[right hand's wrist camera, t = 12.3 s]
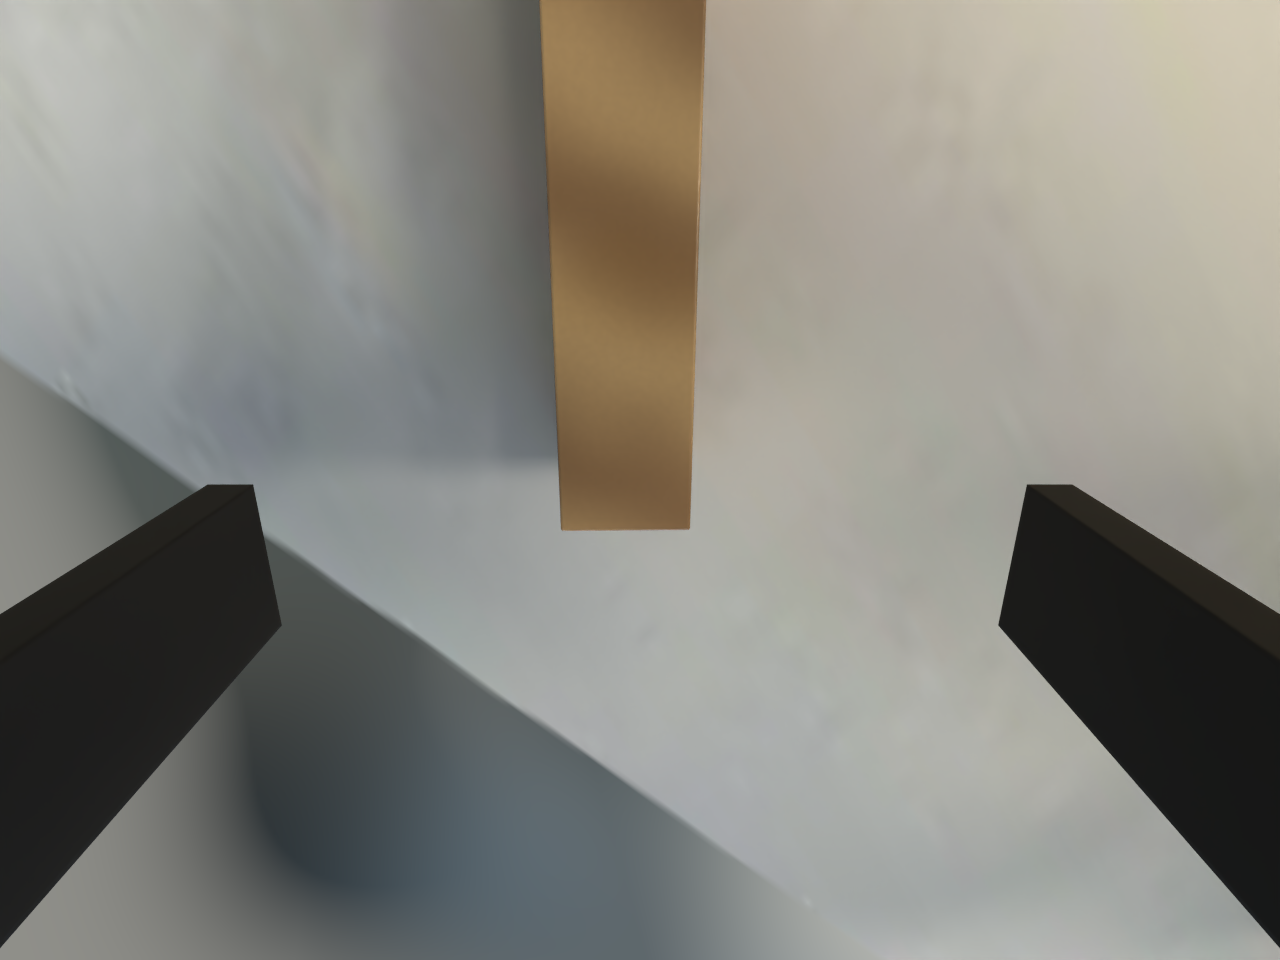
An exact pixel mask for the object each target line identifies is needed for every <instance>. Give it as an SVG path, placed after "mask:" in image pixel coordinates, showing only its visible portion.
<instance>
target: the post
mask: <svg viewBox="0 0 1280 960" xmlns="http://www.w3.org/2000/svg"><path fill="white" fill-rule="evenodd" d="M539 6H540V30H541V54H542V79H543V103H544V127H545V151H546V176H547V200H548V224H549V249H550V273H551V297H552V321H553V346H554V370H555V394H556V419H557V443H558V467H559V491H560V516H561V529H562V531H607V530H689V528H690V509H691V477H692V444H693V411H694V379H695V346H696V313H697V281H698V248H699V215H700V183H701V150H702V118H703V85H704V52H705V20H706V0H539Z"/></svg>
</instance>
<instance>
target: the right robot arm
mask: <svg viewBox="0 0 1280 960" xmlns="http://www.w3.org/2000/svg"><path fill="white" fill-rule="evenodd" d="M280 627H281V620H280V615H279V610H278V605H277V600H276V595H275V590H274V585H273V581H272V575H271V571H270V566H269V561H268V556H267V551H266V546H265V541H264V536H263V531H262V526H261V522H260V517H259V512H258V507H257V502H256V497H255V492H254V487H253V485H206V486H205V487H203V488H202V489H200V490H198V491H197V492H195V493H194V494H192V495H190V496H189V497H187V498H186V499H184V500H182V501H181V502H179V503H178V504H176V505H174V506H173V507H171V508H170V509H168V510H166V511H165V512H163V513H162V514H160V515H158V516H157V517H155V518H154V519H152V520H150V521H149V522H147V523H146V524H144V525H142V526H141V527H139V528H138V529H136V530H134V531H133V532H131V533H130V534H128V535H126V536H125V537H123V538H122V539H120V540H118V541H117V542H115V543H114V544H112V545H110V546H109V547H107V548H106V549H104V550H102V551H101V552H99V553H98V554H96V555H94V556H93V557H91V558H90V559H88V560H86V561H85V562H83V563H82V564H80V565H78V566H77V567H75V568H74V569H72V570H70V571H69V572H67V573H66V574H64V575H62V576H61V577H59V578H58V579H56V580H54V581H53V582H51V583H50V584H48V585H46V586H45V587H43V588H42V589H40V590H38V591H37V592H35V593H34V594H32V595H30V596H29V597H27V598H26V599H24V600H22V601H21V602H19V603H18V604H16V605H14V606H13V607H11V608H10V609H8V610H6V611H5V612H3V613H1V614H0V948H1V946H2V945H3V944H4V943H5V942H6V941H7V940H8V938H9V937H10V936H11V935H12V934H13V933H14V931H15V930H16V929H17V928H18V927H19V926H20V925H21V923H22V922H23V921H24V920H25V919H26V918H27V917H28V915H29V914H30V913H31V912H32V911H33V910H34V909H35V907H36V906H37V905H38V904H39V903H40V902H41V901H42V899H43V898H44V897H45V896H46V895H47V894H48V893H49V891H50V890H51V889H52V888H53V887H54V886H55V884H56V883H57V882H58V881H59V880H60V879H61V878H62V876H63V875H64V874H65V873H66V872H67V871H68V870H69V868H70V867H71V866H72V865H73V864H74V863H75V862H76V860H77V859H78V858H79V857H80V856H81V855H82V854H83V852H84V851H85V850H86V849H87V848H88V847H89V846H90V844H91V843H92V842H93V841H94V840H95V839H96V837H97V836H98V835H99V834H100V833H101V832H102V831H103V829H104V828H105V827H106V826H107V825H108V824H109V823H110V821H111V820H112V819H113V818H114V817H115V816H116V815H117V813H118V812H119V811H120V810H121V809H122V808H123V806H124V805H125V804H126V803H127V802H128V801H129V800H130V799H131V797H132V796H133V795H134V794H135V793H136V792H137V790H138V789H139V788H140V787H141V786H142V785H143V784H144V782H145V781H146V780H147V779H148V778H149V777H150V776H151V774H152V773H153V772H154V771H155V770H156V769H157V768H158V766H159V765H160V764H161V763H162V762H163V761H164V760H165V758H166V757H167V756H168V755H169V754H170V753H171V752H172V750H173V749H174V748H175V747H176V746H177V745H178V744H179V742H180V741H181V740H182V739H183V738H184V737H185V735H186V734H187V733H188V732H189V731H190V730H191V729H192V727H193V726H194V725H195V724H196V723H197V722H198V721H199V719H200V718H201V717H202V716H203V715H204V714H205V713H206V711H207V710H208V709H209V708H210V707H211V706H212V705H213V703H214V702H215V701H216V700H217V699H218V698H219V697H220V695H221V694H222V693H223V692H224V691H225V690H226V689H227V687H228V686H229V685H230V684H231V683H232V682H233V681H234V679H235V678H236V677H237V676H238V675H239V674H240V672H241V671H242V670H243V669H244V668H245V667H246V666H247V664H248V663H249V662H250V661H251V660H252V659H253V658H254V656H255V655H256V654H257V653H258V652H259V651H260V649H261V648H262V647H263V646H264V645H265V644H266V643H267V642H268V640H269V639H270V638H271V637H272V636H273V635H274V633H275V632H276V631H277V630H278V629H279V628H280ZM999 627H1000V628H1001V629H1002V630H1003V631H1004V632H1005V634H1006V635H1007V636H1008V637H1009V638H1010V639H1011V640H1012V642H1013V643H1014V644H1015V645H1016V646H1017V647H1018V648H1019V650H1020V651H1021V652H1022V653H1023V654H1024V655H1025V656H1026V658H1027V659H1028V660H1029V661H1030V662H1031V663H1032V664H1033V666H1034V667H1035V668H1036V669H1037V670H1038V671H1039V672H1040V674H1041V675H1042V676H1043V677H1044V678H1045V679H1046V681H1047V682H1048V683H1049V684H1050V685H1051V686H1052V687H1053V689H1054V690H1055V691H1056V692H1057V693H1058V694H1059V695H1060V697H1061V698H1062V699H1063V700H1064V701H1065V702H1066V703H1067V705H1068V706H1069V707H1070V708H1071V709H1072V710H1073V711H1074V713H1075V714H1076V715H1077V716H1078V717H1079V718H1080V719H1081V721H1082V722H1083V723H1084V724H1085V725H1086V726H1087V727H1088V729H1089V730H1090V731H1091V732H1092V733H1093V734H1094V736H1095V737H1096V738H1097V739H1098V740H1099V741H1100V742H1101V744H1102V745H1103V746H1104V747H1105V748H1106V749H1107V750H1108V752H1109V753H1110V754H1111V755H1112V756H1113V757H1114V758H1115V760H1116V761H1117V762H1118V763H1119V764H1120V765H1121V766H1122V768H1123V769H1124V770H1125V771H1126V772H1127V773H1128V774H1129V776H1130V777H1131V778H1132V779H1133V780H1134V781H1135V783H1136V784H1137V785H1138V786H1139V787H1140V788H1141V789H1142V791H1143V792H1144V793H1145V794H1146V795H1147V796H1148V797H1149V799H1150V800H1151V801H1152V802H1153V803H1154V804H1155V805H1156V807H1157V808H1158V809H1159V810H1160V811H1161V812H1162V813H1163V815H1164V816H1165V817H1166V818H1167V819H1168V820H1169V821H1170V823H1171V824H1172V825H1173V826H1174V827H1175V828H1176V829H1177V831H1178V832H1179V833H1180V834H1181V835H1182V836H1183V838H1184V839H1185V840H1186V841H1187V842H1188V843H1189V844H1190V846H1191V847H1192V848H1193V849H1194V850H1195V851H1196V852H1197V854H1198V855H1199V856H1200V857H1201V858H1202V859H1203V860H1204V862H1205V863H1206V864H1207V865H1208V866H1209V867H1210V868H1211V870H1212V871H1213V872H1214V873H1215V874H1216V875H1217V876H1218V878H1219V879H1220V880H1221V881H1222V882H1223V883H1224V885H1225V886H1226V887H1227V888H1228V889H1229V890H1230V891H1231V893H1232V894H1233V895H1234V896H1235V897H1236V898H1237V899H1238V901H1239V902H1240V903H1241V904H1242V905H1243V906H1244V907H1245V909H1246V910H1247V911H1248V912H1249V913H1250V914H1251V915H1252V917H1253V918H1254V919H1255V920H1256V921H1257V922H1258V923H1259V925H1260V926H1261V927H1262V928H1263V929H1264V930H1265V931H1266V933H1267V934H1268V935H1269V936H1270V937H1271V938H1272V940H1273V941H1274V942H1275V943H1276V944H1277V945H1278V946H1279V948H1280V614H1279V613H1277V612H1275V611H1274V610H1272V609H1270V608H1269V607H1267V606H1266V605H1264V604H1262V603H1261V602H1259V601H1258V600H1256V599H1254V598H1253V597H1251V596H1250V595H1248V594H1246V593H1245V592H1243V591H1242V590H1240V589H1238V588H1237V587H1235V586H1234V585H1232V584H1230V583H1229V582H1227V581H1226V580H1224V579H1222V578H1221V577H1219V576H1218V575H1216V574H1214V573H1213V572H1211V571H1210V570H1208V569H1206V568H1205V567H1203V566H1202V565H1200V564H1198V563H1197V562H1195V561H1194V560H1192V559H1190V558H1189V557H1187V556H1186V555H1184V554H1182V553H1181V552H1179V551H1178V550H1176V549H1174V548H1173V547H1171V546H1170V545H1168V544H1166V543H1165V542H1163V541H1162V540H1160V539H1158V538H1157V537H1155V536H1154V535H1152V534H1150V533H1149V532H1147V531H1146V530H1144V529H1142V528H1141V527H1139V526H1138V525H1136V524H1134V523H1133V522H1131V521H1130V520H1128V519H1126V518H1125V517H1123V516H1122V515H1120V514H1118V513H1117V512H1115V511H1114V510H1112V509H1110V508H1109V507H1107V506H1106V505H1104V504H1102V503H1101V502H1099V501H1098V500H1096V499H1094V498H1093V497H1091V496H1090V495H1088V494H1086V493H1085V492H1083V491H1082V490H1080V489H1078V488H1077V487H1075V486H1074V485H1027V487H1026V492H1025V497H1024V502H1023V507H1022V512H1021V517H1020V522H1019V526H1018V531H1017V536H1016V541H1015V546H1014V551H1013V556H1012V561H1011V566H1010V571H1009V575H1008V580H1007V585H1006V590H1005V595H1004V600H1003V605H1002V610H1001V615H1000V620H999Z"/></svg>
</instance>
